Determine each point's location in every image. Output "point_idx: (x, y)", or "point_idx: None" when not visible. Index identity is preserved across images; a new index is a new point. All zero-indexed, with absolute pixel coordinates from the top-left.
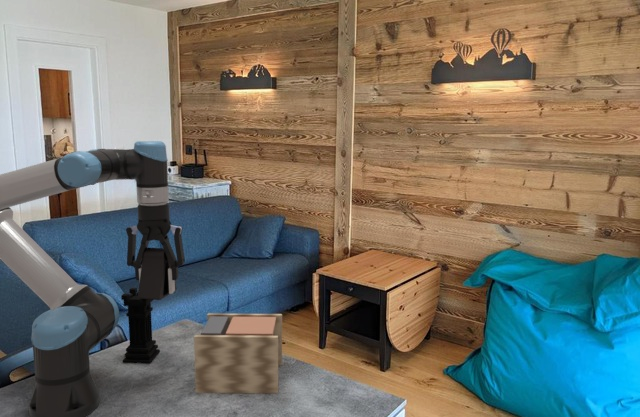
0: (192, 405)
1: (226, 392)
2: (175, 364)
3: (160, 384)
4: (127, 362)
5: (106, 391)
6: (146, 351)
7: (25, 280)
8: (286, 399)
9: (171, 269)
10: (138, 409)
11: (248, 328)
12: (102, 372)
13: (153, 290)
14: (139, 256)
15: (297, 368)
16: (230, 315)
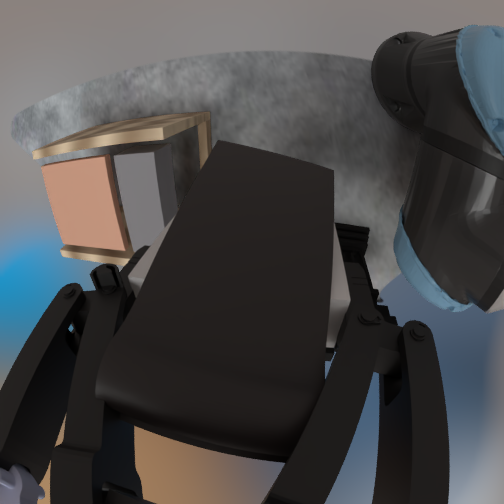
0: (204, 71)
1: (160, 115)
2: None
3: (282, 141)
4: (360, 226)
5: (373, 124)
6: None
7: None
8: (84, 112)
9: (133, 280)
10: (296, 57)
11: (77, 187)
12: (395, 196)
13: (246, 171)
14: (348, 385)
15: None
16: None
